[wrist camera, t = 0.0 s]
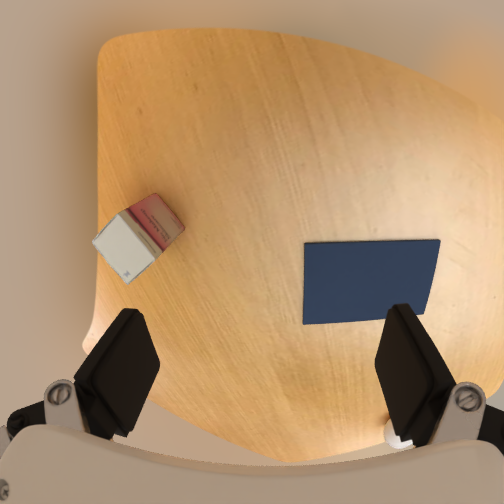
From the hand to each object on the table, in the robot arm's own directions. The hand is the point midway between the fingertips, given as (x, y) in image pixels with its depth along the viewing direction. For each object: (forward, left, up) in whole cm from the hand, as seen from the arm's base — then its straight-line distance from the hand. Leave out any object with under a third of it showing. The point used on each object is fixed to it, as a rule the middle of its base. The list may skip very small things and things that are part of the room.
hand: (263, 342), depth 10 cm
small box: (0, -12, -18) cm, 22 cm away
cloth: (+8, +11, -18) cm, 23 cm away
